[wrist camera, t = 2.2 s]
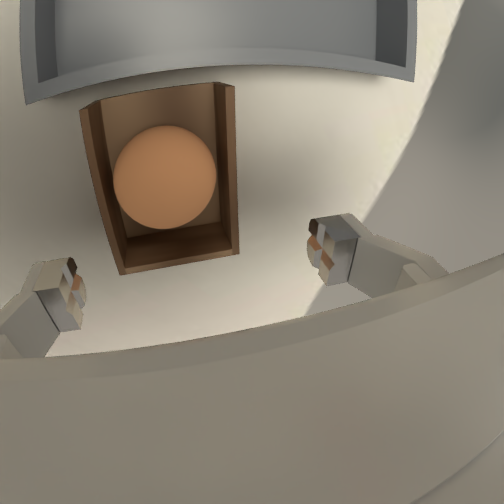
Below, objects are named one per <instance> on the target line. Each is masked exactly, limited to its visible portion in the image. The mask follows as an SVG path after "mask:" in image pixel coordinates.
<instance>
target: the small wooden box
mask: <svg viewBox="0 0 504 504" xmlns="http://www.w3.org/2000/svg"><path fill="white" fill-rule="evenodd" d="M79 114H80V120H81V126H82V132H83V138H84V143H85V149H86V154H87V159H88V163H89V168H90V173H91V177H92V181H93V186H94V190H95V194H96V198H97V202H98V205H99V209H100V213H101V217H102V220H103V224H104V227H105V231H106V234H107V237H108V241H109V244H110V247H111V250H112V253H113V256H114V260H115V263H116V266H117V269H118V271H119V274H120V275H126V274H131V273H137V272H142V271H148V270H153V269H159V268H164V267H170V266H175V265H181V264H187V263H192V262H198V261H203V260H209V259H214V258H220V257H225V256H231V255H236V254H239V228H238V199H237V167H236V130H235V86H232V85H228V84H225V83H221V82H212V83H200V84H190V85H181V86H173V87H165V88H158V89H152V90H146V91H140V92H134V93H129V94H124V95H119V96H114V97H110V98H105V99H101V100H97V101H94V102H92V103H91V104H89V105H87V106H86V107H84V108H82V109H81V110H79ZM165 125H167V126H176V127H181V128H184V129H186V130H188V131H190V132H192V133H194V134H195V135H197V136H198V137H199V138H200V139H201V140H202V141H203V142H204V143H205V144H206V146H207V147H208V149H209V150H210V152H211V154H212V156H213V159H214V162H215V168H216V183H215V188H214V192H213V194H212V197H211V199H210V201H209V203H208V204H207V206H206V207H205V208H204V210H203V211H202V212H201V213H200V214H199V215H198V216H197V217H196V218H194V219H193V220H191V221H190V222H188V223H186V224H184V225H181V226H179V227H175V228H170V229H156V228H151V227H147V226H144V225H142V224H140V223H138V222H137V221H135V220H133V219H132V218H131V217H130V216H129V215H128V214H127V213H126V212H125V211H124V210H123V208H122V207H121V205H120V204H119V202H118V200H117V197H116V194H115V190H114V184H113V173H114V168H115V164H116V161H117V158H118V156H119V154H120V152H121V151H122V149H123V148H124V146H125V145H126V144H127V143H128V142H129V141H130V140H131V139H132V138H133V137H134V136H136V135H137V134H139V133H140V132H142V131H144V130H147V129H149V128H152V127H156V126H165Z"/></svg>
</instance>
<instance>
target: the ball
mask: <svg viewBox="0 0 504 504" xmlns="http://www.w3.org/2000/svg"><path fill="white" fill-rule="evenodd" d="M215 183H216V168H215V162H214V159H213V156H212V154H211V152H210V150H209V149H208V147H207V146H206V144H205V143H204V142H203V141H202V140H201V139H200V138H199V137H198V136H197V135H195V134H194V133H192V132H190V131H188V130H186V129H184V128H181V127H176V126H167V125H165V126H156V127H152V128H149V129H147V130H144V131H142V132H140V133H139V134H137V135H136V136H134V137H133V138H132V139H131V140H130V141H129V142H128V143H127V144H126V145H125V146H124V148H123V149H122V151H121V152H120V154H119V156H118V158H117V161H116V164H115V168H114V173H113V184H114V190H115V194H116V197H117V200H118V202H119V204H120V205H121V207H122V208H123V210H124V211H125V212H126V213H127V214H128V215H129V216H130V217H131V218H132V219H133V220H135V221H137V222H138V223H140V224H142V225H144V226H147V227H151V228H156V229H170V228H175V227H179V226H181V225H184V224H186V223H188V222H190V221H191V220H193V219H194V218H196V217H197V216H198V215H199V214H200V213H201V212H202V211H203V210H204V208H205V207H206V206H207V204H208V203H209V201H210V199H211V197H212V194H213V192H214V188H215Z"/></svg>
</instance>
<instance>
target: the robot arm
mask: <svg viewBox="0 0 504 504" xmlns="http://www.w3.org/2000/svg"><path fill="white" fill-rule="evenodd" d="M309 231H310V233H311V234H312V235H311V237H310V238H309V239H308V241H307V254H308V258H309V260H310V262H311V264H312V266H314V267H316V268H318V269H319V272H318V275H319V276H320V277H321V279H322V280H323V282H324V283H325V285H326V286H330V285H335V284H340V283H345V282H348V283H349V284H350V285H352V286H353V287H355V288H357V289H358V290H360V291H362V292H363V293H365V294H366V295H368V296H370V297H371V298H372V299H368V300H365V301H362V302H358V303H354V304H351V305H347V306H343V307H339V308H336V309H332V310H328V311H324V312H320V313H316V314H312V315H308V316H304V317H300V318H295V319H291V320H287V321H283V322H278V323H274V324H269V325H265V326H260V327H255V328H250V329H246V330H241V331H236V332H231V333H226V334H220V335H215V336H210V337H204V338H199V339H193V340H187V341H181V342H175V343H169V344H162V345H155V346H148V347H141V348H134V349H126V350H118V351H109V352H100V353H91V354H80V355H69V356H56V357H45V355H46V353H47V352H48V350H49V349H50V347H51V346H52V344H53V343H54V341H55V340H56V338H57V337H58V335H59V334H60V333H59V332H65V331H72V330H79V329H81V324H82V319H83V313H82V311H81V309H82V308H83V306H84V305H85V302H86V290H85V286H84V283H83V280H82V278H81V277H80V276H78V275H77V274H76V270H77V266H76V264H75V261H74V259H73V258H71V257H68V258H62V259H56V260H50V261H43V262H39V263H35V264H33V265H32V268H31V270H30V272H29V274H28V276H27V278H26V281H25V283H24V285H23V288H22V290H21V292H20V294H17V295H15V296H14V297H13V298H12V299H11V300H10V301H9V302H8V303H7V304H6V305H5V306H4V307H3V308H2V309H1V310H0V504H504V253H503V254H500V255H498V256H495V257H493V258H490V259H488V260H485V261H483V262H480V263H477V264H475V265H472V266H469V267H467V268H464V269H461V270H458V271H455V272H453V273H450V274H449V273H448V272H447V271H446V270H445V269H444V268H443V267H442V266H441V265H440V264H439V263H438V262H437V261H436V260H435V259H434V258H433V257H431V256H429V255H427V254H424V253H421V252H419V251H416V250H414V249H412V248H409V247H407V246H405V245H402V244H399V243H397V242H395V241H392V240H389V239H387V238H384V237H381V236H379V235H373V234H372V233H371V232H370V231H369V230H368V229H367V228H366V227H365V226H364V225H363V224H362V223H361V222H360V221H359V220H358V219H357V218H355V217H354V216H353V215H352V214H350V213H346V214H340V215H335V216H328V217H322V218H316V219H311V221H310V223H309Z"/></svg>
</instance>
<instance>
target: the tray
mask: <svg viewBox="0 0 504 504" xmlns="http://www.w3.org/2000/svg"><path fill="white" fill-rule="evenodd" d="M416 44H417V0H20V55H21V69H22V79H23V88H24V96H25V103H26V105H28V104H31V103H33V102H36V101H39V100H42V99H45V98H48V97H51V96H54V95H57V94H60V93H64V92H67V91H70V90H74V89H77V88H81V87H85V86H89V85H93V84H97V83H101V82H105V81H110V80H114V79H119V78H124V77H129V76H134V75H140V74H146V73H152V72H159V71H166V70H174V69H183V68H193V67H205V66H220V65H295V66H310V67H322V68H332V69H341V70H349V71H356V72H363V73H369V74H375V75H381V76H386V77H391V78H396V79H401V80H405V81H410V82H414V76H415V63H416Z"/></svg>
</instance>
